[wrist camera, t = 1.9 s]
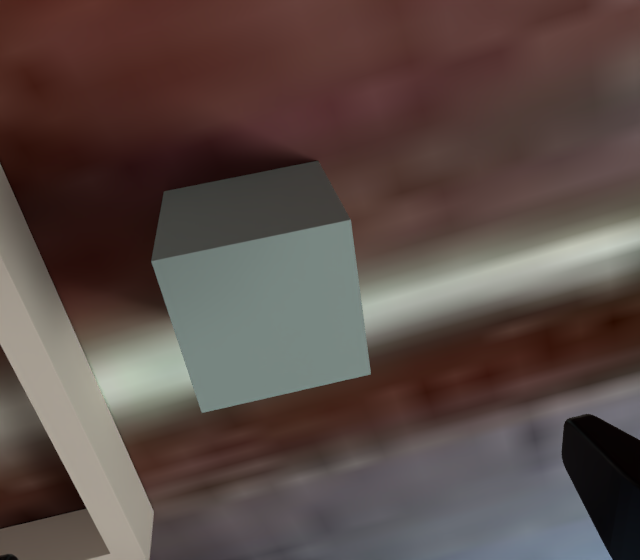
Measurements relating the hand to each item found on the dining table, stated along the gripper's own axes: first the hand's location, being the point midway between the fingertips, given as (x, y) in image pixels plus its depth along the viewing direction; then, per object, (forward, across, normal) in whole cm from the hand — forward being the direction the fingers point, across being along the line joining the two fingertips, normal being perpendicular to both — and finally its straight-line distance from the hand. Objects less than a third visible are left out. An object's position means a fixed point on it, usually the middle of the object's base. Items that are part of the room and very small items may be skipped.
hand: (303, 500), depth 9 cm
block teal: (+10, 0, 0) cm, 10 cm away
